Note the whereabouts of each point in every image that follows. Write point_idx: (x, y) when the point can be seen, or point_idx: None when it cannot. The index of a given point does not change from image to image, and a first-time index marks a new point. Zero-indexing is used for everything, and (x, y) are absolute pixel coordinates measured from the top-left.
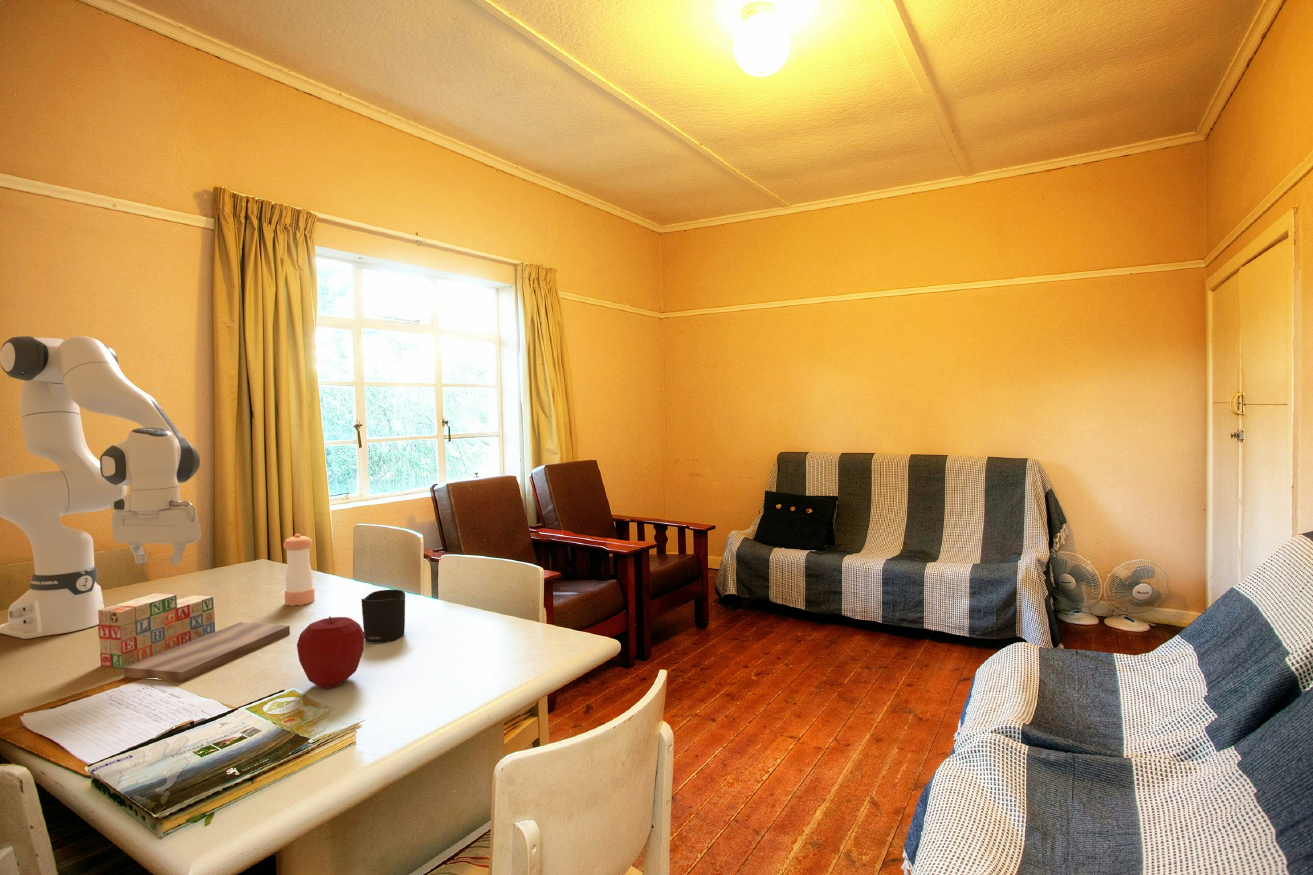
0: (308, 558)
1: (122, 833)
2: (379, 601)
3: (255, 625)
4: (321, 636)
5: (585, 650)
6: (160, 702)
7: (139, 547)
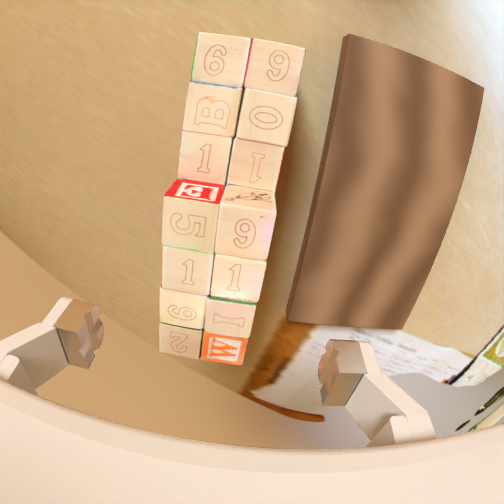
0: None
1: None
2: None
3: (410, 69)
4: None
5: None
6: (399, 362)
7: (22, 361)
